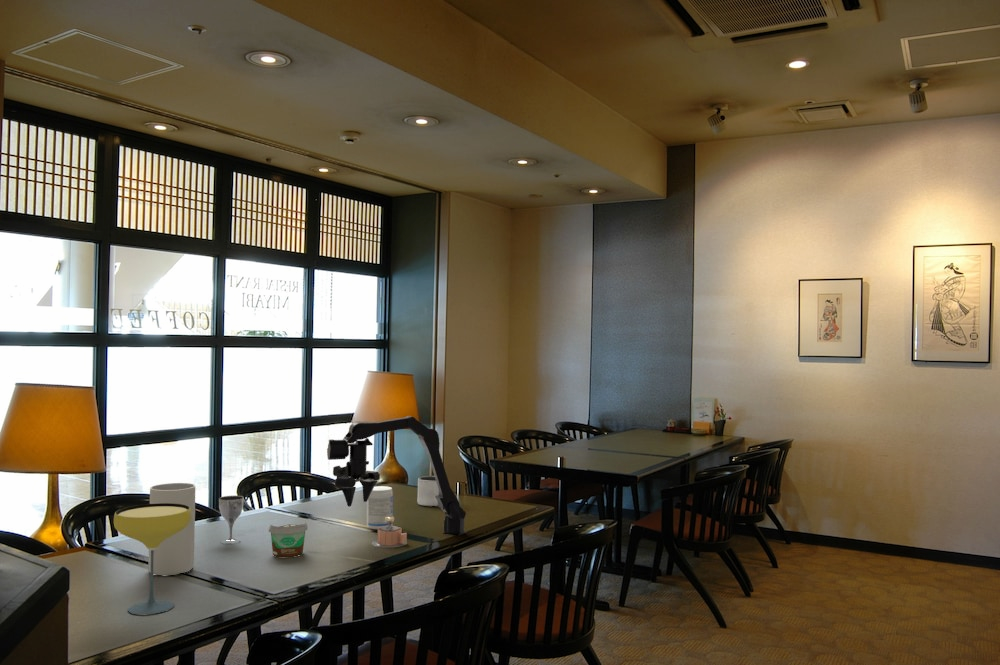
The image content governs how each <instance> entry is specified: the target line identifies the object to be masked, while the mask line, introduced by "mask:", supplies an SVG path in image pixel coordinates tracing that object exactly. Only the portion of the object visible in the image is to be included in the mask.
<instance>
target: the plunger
mask: <svg viewBox="0 0 1000 665" xmlns="http://www.w3.org/2000/svg"><path fill="white" fill-rule="evenodd" d="M385 522H388V529H391V522H393V523H394V522H395V516H393V517H385ZM388 532H391V531H388Z"/></svg>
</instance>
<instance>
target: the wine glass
mask: <svg viewBox="0 0 1000 665" xmlns="http://www.w3.org/2000/svg"><path fill="white" fill-rule="evenodd" d="M243 507H244V496H242V495H225V496H221V497H219V498H218V508H219V512H220V515H221V517H222V518H223V519H224V520H225V521H226V523H227V525H228V528H229V529H228V530H229V537H228V538H227V540H226V539H225V540H226V541H235V540H237V539H238V538H234V537H233V526H234V524H235V522H236V521H237V520H238V518H239V517H241V516H240V515H242V513H243V509H244V508H243Z"/></svg>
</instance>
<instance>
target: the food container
mask: <svg viewBox="0 0 1000 665" xmlns="http://www.w3.org/2000/svg"><path fill="white" fill-rule="evenodd" d="M307 530H308V524H307V521H305V522H304V523H303V524H302V523H301V524H285V525H280V526H275V525H273V524H270V525H269V528H268V532H269V533H270V537H271V549H272V556H273V555H274V556H276V557H275V558H278V557H293V558H295V557H294V556H298V555H301V554H302V553H303V552H304V544H305V538H306V537H305V536H306V531H307ZM303 554H304V553H303ZM303 554H302V555H303ZM302 555H301V556H302ZM274 556H273V557H274ZM298 557H299V556H298Z"/></svg>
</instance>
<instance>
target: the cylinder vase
mask: <svg viewBox="0 0 1000 665" xmlns="http://www.w3.org/2000/svg"><path fill="white" fill-rule="evenodd" d="M157 503H173V504H183V505H187V506H189V507H190V510H191V519H190V522H189V524H188V525H187V526H186V527H185V528H184V529H183V530H181V531H179V532H178V533H176V534H174V535H172V536H170V537H168V538H167V539H165V540H164V541H162V542H161V543H160V545H159V546H158V547H157V548H156V549H155V550H154V558H153V574H156V575H173V574H179V573H183V572H185V571H188V570H190V569H192V568H193V567H194V568H195V538H196V537H195V536H196V535H195V531H196V530H195V526H196V522H195V521H196V520H195V519H196V484H194V483H189V482H186V483H185V482H171V483H162V484H156V485H152V486H151V487H149V504H157ZM194 568H193V569H194ZM193 569H192V570H193ZM149 572H150V573H151V550H149V549H148V573H149ZM150 573H149V574H150Z"/></svg>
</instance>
